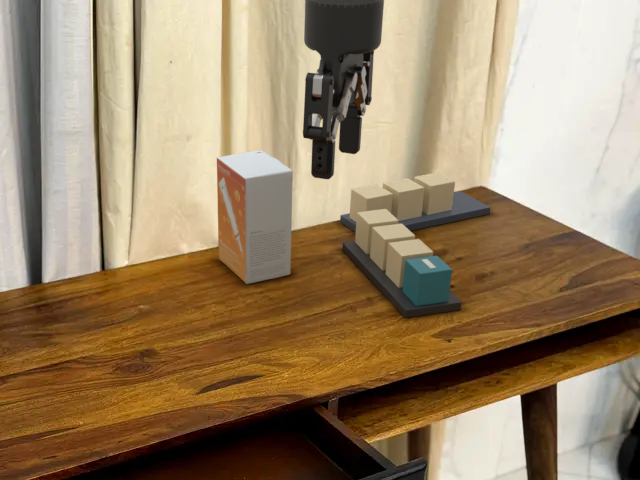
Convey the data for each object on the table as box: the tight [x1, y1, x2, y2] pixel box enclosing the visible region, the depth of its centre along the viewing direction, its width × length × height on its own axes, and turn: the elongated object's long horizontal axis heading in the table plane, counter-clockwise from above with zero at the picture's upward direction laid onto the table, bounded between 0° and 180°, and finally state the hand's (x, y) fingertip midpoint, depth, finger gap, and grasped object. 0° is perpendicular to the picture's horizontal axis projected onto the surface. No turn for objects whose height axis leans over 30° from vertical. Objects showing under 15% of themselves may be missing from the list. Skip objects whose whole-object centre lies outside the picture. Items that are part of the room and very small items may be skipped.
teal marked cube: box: [403, 255, 453, 306], centre depth 113 cm, size 4×4×4 cm
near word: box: [341, 209, 463, 319], centre depth 119 cm, size 20×7×5 cm, turn 17°
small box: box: [216, 149, 294, 285], centre depth 119 cm, size 8×6×13 cm
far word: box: [339, 172, 491, 233], centre depth 134 cm, size 20×7×5 cm, turn 117°
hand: (336, 164), depth 103 cm, fingers open, 8 cm apart
